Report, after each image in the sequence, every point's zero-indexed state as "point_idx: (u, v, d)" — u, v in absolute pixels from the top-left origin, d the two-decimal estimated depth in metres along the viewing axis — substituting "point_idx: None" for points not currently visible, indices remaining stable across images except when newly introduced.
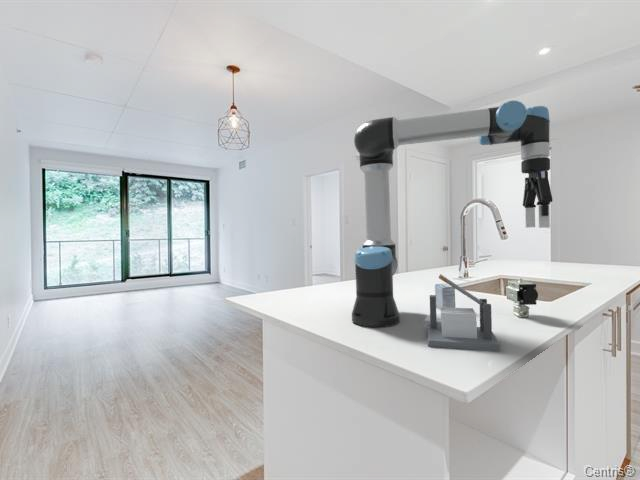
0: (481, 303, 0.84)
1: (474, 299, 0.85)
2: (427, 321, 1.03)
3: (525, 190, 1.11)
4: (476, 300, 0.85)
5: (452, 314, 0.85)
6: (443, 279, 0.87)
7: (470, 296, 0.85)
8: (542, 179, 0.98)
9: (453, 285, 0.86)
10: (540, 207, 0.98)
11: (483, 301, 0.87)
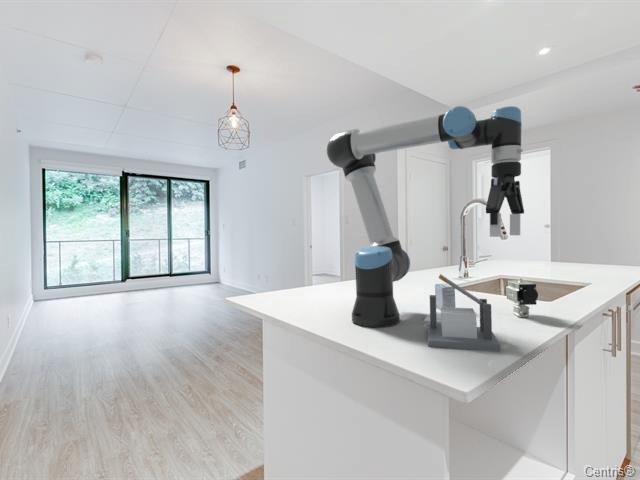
0: (481, 303, 0.84)
1: (474, 299, 0.85)
2: (427, 321, 1.03)
3: None
4: (476, 300, 0.85)
5: (452, 314, 0.85)
6: (443, 279, 0.87)
7: (470, 296, 0.85)
8: (494, 186, 0.94)
9: (453, 285, 0.86)
10: None
11: (483, 301, 0.87)
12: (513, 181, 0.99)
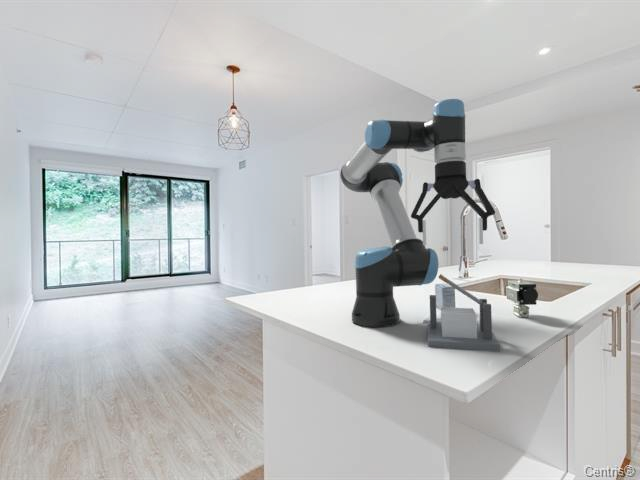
0: (481, 303, 0.84)
1: (474, 299, 0.85)
2: (427, 321, 1.03)
3: None
4: (476, 300, 0.85)
5: (452, 314, 0.85)
6: (443, 279, 0.87)
7: (470, 296, 0.85)
8: None
9: (453, 285, 0.86)
10: None
11: (483, 301, 0.87)
12: (461, 181, 0.85)
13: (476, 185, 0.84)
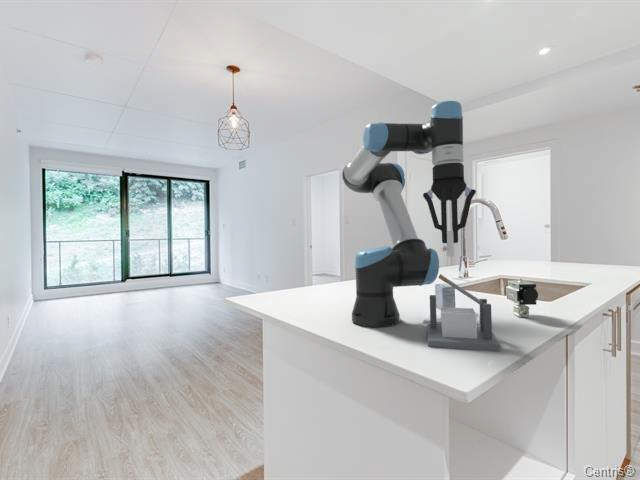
0: (481, 303, 0.84)
1: (474, 299, 0.85)
2: (427, 321, 1.03)
3: (464, 204, 0.87)
4: (476, 300, 0.85)
5: (452, 314, 0.85)
6: (443, 279, 0.87)
7: (470, 296, 0.85)
8: (428, 201, 0.88)
9: (453, 285, 0.86)
10: None
11: (483, 301, 0.87)
12: (461, 182, 0.85)
13: (469, 194, 0.84)
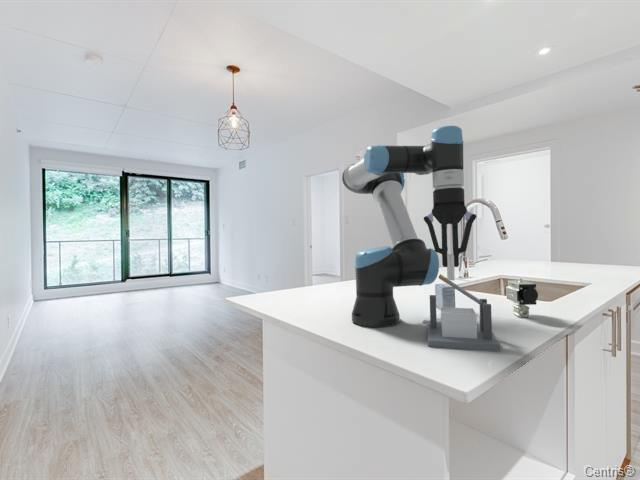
0: (481, 303, 0.84)
1: (474, 299, 0.85)
2: (427, 321, 1.03)
3: None
4: (476, 300, 0.85)
5: (452, 314, 0.85)
6: (443, 279, 0.87)
7: (470, 296, 0.85)
8: None
9: (453, 285, 0.86)
10: None
11: (483, 301, 0.87)
12: (461, 207, 0.85)
13: (470, 219, 0.84)
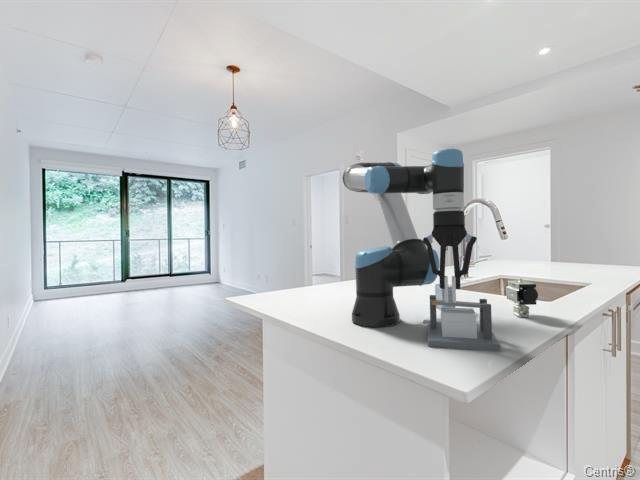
0: (480, 306, 0.84)
1: (472, 305, 0.85)
2: (427, 321, 1.03)
3: None
4: (474, 305, 0.85)
5: (452, 314, 0.85)
6: (435, 303, 0.88)
7: (467, 305, 0.85)
8: None
9: (447, 303, 0.87)
10: None
11: (482, 302, 0.87)
12: (461, 229, 0.85)
13: (470, 241, 0.84)
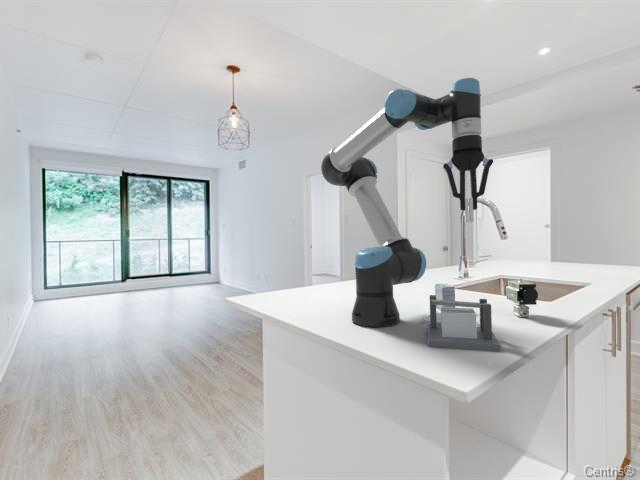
0: (480, 306, 0.84)
1: (472, 305, 0.85)
2: (427, 321, 1.03)
3: (482, 174, 0.94)
4: (474, 305, 0.85)
5: (452, 314, 0.85)
6: (435, 303, 0.88)
7: (467, 305, 0.85)
8: None
9: (447, 303, 0.87)
10: None
11: (482, 302, 0.87)
12: (479, 153, 0.92)
13: (487, 164, 0.91)
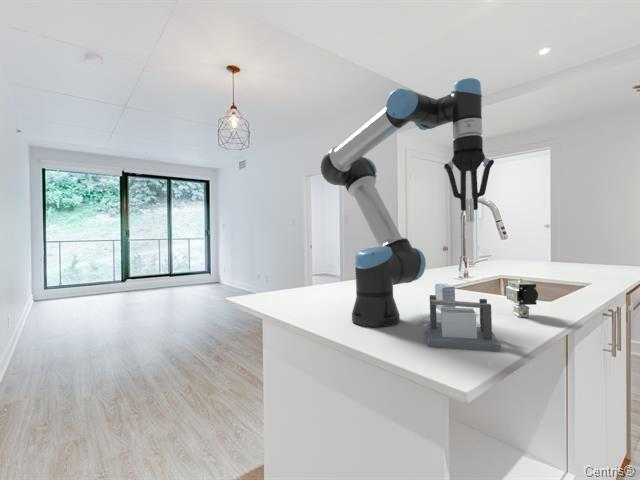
0: (480, 306, 0.84)
1: (472, 305, 0.85)
2: (427, 321, 1.03)
3: None
4: (474, 305, 0.85)
5: (452, 314, 0.85)
6: (435, 303, 0.88)
7: (467, 305, 0.85)
8: None
9: (447, 303, 0.87)
10: None
11: (482, 302, 0.87)
12: (480, 153, 0.92)
13: (488, 164, 0.92)
